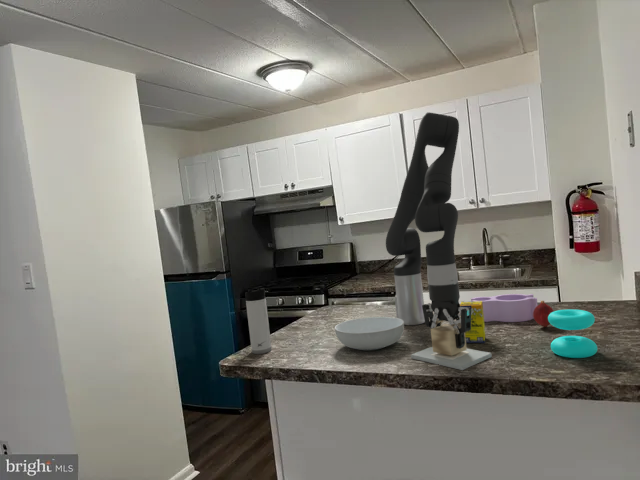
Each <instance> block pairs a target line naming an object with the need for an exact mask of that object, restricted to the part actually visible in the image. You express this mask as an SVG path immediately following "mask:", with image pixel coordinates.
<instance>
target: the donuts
mask: <svg viewBox="0 0 640 480" xmlns="http://www.w3.org/2000/svg"><path fill="white" fill-rule="evenodd" d="M553 311H554V310H553ZM548 321H549V323H550V325H551V326H552V327H554V328H557V329H559V330H564V331H579V330H585V329H588V328H590V327H591V326H593V325H594V323H595V321H596V317H595V316H594V314H593V313H591V312H590V311H587V310H583V309H558V310H555V311H554V312H552V313H550V314H549V316H548ZM550 350H551V351H552V352H553V354H556V355H558V356H560V357H563V358H569V359H570V358H571V359H583V358H590V357H592V356H594V355H596V353H597V352H598V345H597V343H595V341H593V340H592V339H590V338H588V337H585V336H580V335H564V336H563V335H562V336H559V337H557V338H555V339H553V340H552V341H551V343H550Z"/></svg>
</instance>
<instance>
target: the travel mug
mask: <svg viewBox="0 0 640 480" xmlns="http://www.w3.org/2000/svg"><path fill="white" fill-rule="evenodd" d="M244 296H245V306H246V315H247V321H248V331H249V340H250V347H251V349H250V350H251V353H252V354H254V355H261V354H266V353H270V352H271V351H272V340H271V333H270V323H269V316H268V306H267V299H266V290H265V287H262V288H258V289H254V290H251V291H249V292H244Z"/></svg>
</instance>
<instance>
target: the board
mask: <svg viewBox="0 0 640 480" xmlns="http://www.w3.org/2000/svg"><path fill="white" fill-rule="evenodd" d="M492 356H493V355H492V352H490V351H489V352H488V351H483V350H477V349H472V348H467V350H465V351H462V352H460V353H457V354H455V355H452V356H451V355H446V354H441V353H436V352H433V347H432V346H430V347H427V348H425V349H422V350H419V351H417V352H413V353H411V355H410V357H411V359H413V360H416V361H417V360H418V361H422V362H425V363H430V364H435V365H438V364H439V366H444V367H447V368H452V369H456V370H460V371H463V370H466V369H468V368H470V367H472V366H475V365H477V364H478V363H481V362H484V361H485V360H486V361H487V360H488V359H491V358H492Z"/></svg>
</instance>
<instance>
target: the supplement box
mask: <svg viewBox="0 0 640 480" xmlns="http://www.w3.org/2000/svg"><path fill="white" fill-rule="evenodd" d="M459 304H460V306H461V307H464V308H467V307H470V308H471V330H470V331H467V332H465V338H466V344H486V326H485V325H486V324H485V322H484V313H483V303H482V301H471V300H470V301H461V302H460V303H459Z"/></svg>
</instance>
